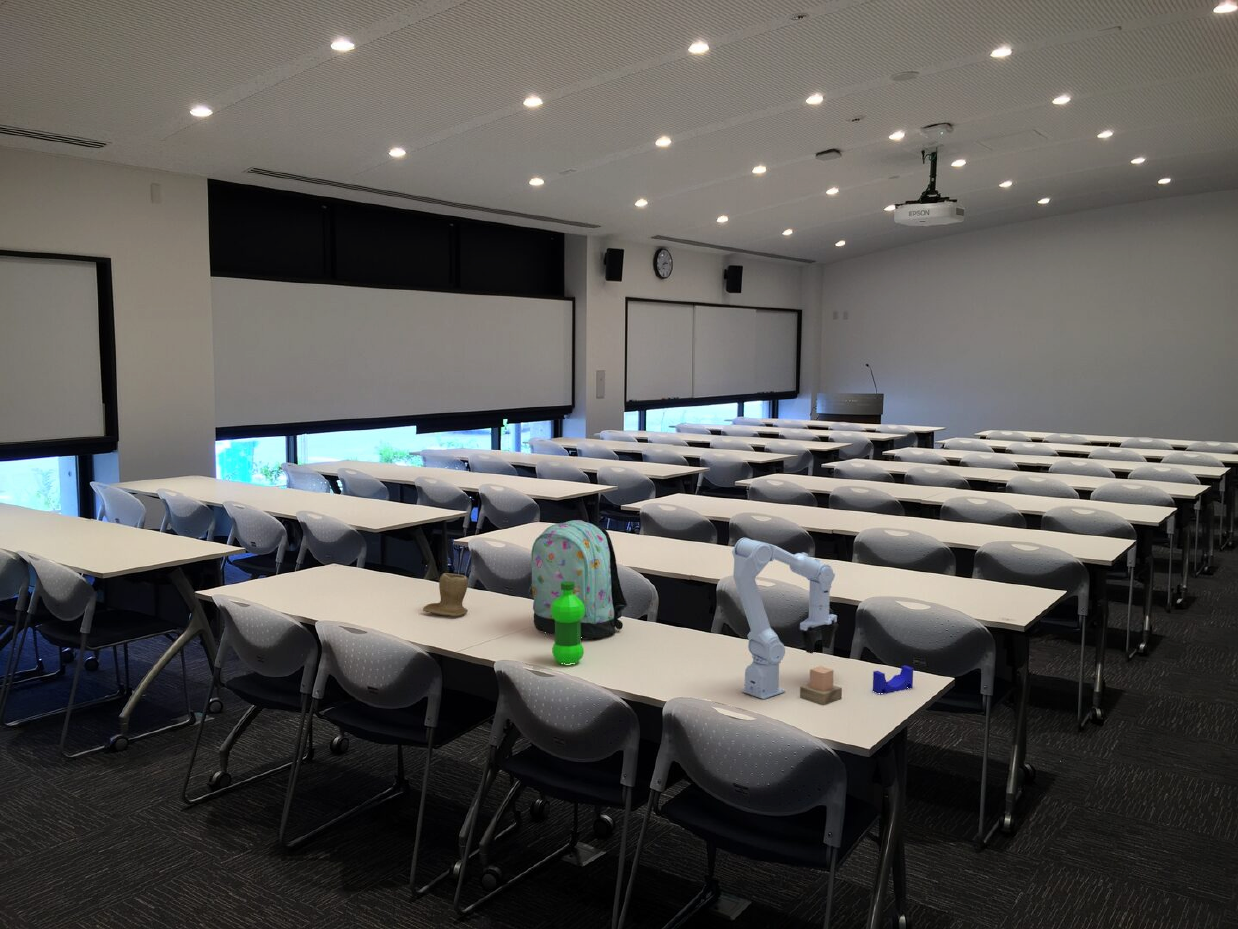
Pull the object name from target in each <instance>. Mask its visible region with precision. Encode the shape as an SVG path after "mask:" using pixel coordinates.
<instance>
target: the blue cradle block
mask: <svg viewBox="0 0 1238 929" xmlns="http://www.w3.org/2000/svg"><path fill="white" fill-rule="evenodd" d="M907 687H908V688H909V689H908V688H907ZM913 687H914V667H910V666H909V665H902V666H901V669H900V673H899V674H895V675H893V677H892V678H891V679H889V680H887V679H886V673H884V672H882V671H879V670H874V671H872V692H873V691H874V692H873V693H875V692H876V693H875V694H877V693H880V694H881V693H886V694H890V693H895V692H894V691H896V692H901V691H906V690H910V688H911V689H913ZM905 689H906V690H905ZM900 690H901V691H900ZM881 695H882V694H881Z"/></svg>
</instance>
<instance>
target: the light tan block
mask: <svg viewBox="0 0 1238 929" xmlns="http://www.w3.org/2000/svg"><path fill="white" fill-rule="evenodd" d="M809 683H810V687H811V688H814V689H817V690H820V691H825V690H828V689H831V688H833V685H834V669H831V668H827V667H824V666H821V665H819V666H816V667H813V668H810V669H809Z"/></svg>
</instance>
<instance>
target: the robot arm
mask: <svg viewBox="0 0 1238 929" xmlns="http://www.w3.org/2000/svg"><path fill="white" fill-rule="evenodd" d="M731 553H732V556H733V559H734V560H733V574H732V575H733V579H734V583H735V586H736V589H737V592H738V595H739V598H740V601H741V604H742V607H743V610H744V613H745V616H746V619H747V622H748V626H749V628H750V629H749V630H750V631H749V633H748V634H747V635H746V637H747V639H748V644H747V645H748V646H747V647H748V648H747V649H748V651H749V653H750V654H751V659H752V662H751V663H750V664H749V665H747V666H746V668H745V670H744V689H742V693H745V694H748V695H751V696H753V697H756V698H759V699H762V700H765V699H768V698H772V697H773V696H774V697H775V696H777V695H780V694H783V693H785V692H786V690H785V689H783V688H780V687H779V684H780V664H781V661H782V660H783V659H784V657H785V655H786V648H785V645H784V643H783V642H782V641H781V640H780V638H779V636H778V634H777V633H776V632H775V630H774V629H772V628H771V624H770V621H769V618H768V615H767V612H766V609H765V606H764V602H763V600H762V596H761V594H760V593H761V592H760V591H759V587H758V585H757V584H758V583H757V581H756V577H758V576H759V575H760V573H761V572H762V571H763V570H764V568H766V566H767V565H768V564H769V563H770V562H774V560H775V561H777V562H780V563H783V564H785V565H787V566H788V565H789V569H790V570H791V572H792V573H795V574H796V575H799V576H801V577H804V578H805V579H806V580H808V581H809V592H808V593H809V595H808V598H809V599H808V618H806V619H805V620H804V621H801V622H800V623H799V627H798V632H799V633H800V636H801V638H802V640H803V644H804V648H805V653H808V654H814V652H815V643H816V640H817V639H816V638H817V635H818V633H819V631H818V630H814V629H813V628H816V627H819V628H820V633H821V645H822V648H824V649H825V648H826V649H830V647H831V645H832V641H833V637H834V635H835V633H836V631H837V630H838V629H839V624H838V623H837V620H838V619H837V618H838V616H837V615H836V614H832V613H831V614H830V597H831V592H830V590H831V588H832V583H833V581H834V579H835V576H836V573H834V570H833V568H832V566H831V565H829V564H826V563H822V562H821V560H820V559H818V558H812V557H811V556H809V554H808V553H807V552H797V553H795V554H793V553H790V552H789V551H787V550H785V549H783V548H781V547H779V546H777V545H776V544H775V545H774V544H772V543H768V542H763V541H759V540H754V539H750V538H748V537H742V538H740V539H739V540H737V541H736V543H735V545H734V547H733V549H732V551H731Z"/></svg>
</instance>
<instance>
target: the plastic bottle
mask: <svg viewBox="0 0 1238 929" xmlns="http://www.w3.org/2000/svg"><path fill="white" fill-rule="evenodd" d="M574 589H575V583H574V582H562V583H561V590H563V594H562V595H561V596H559V597H558V598H557V599H556V600H555V601H554V602H553V603H552V605H551V614H552V617H553V618H554V620H555V634H554V643H553V645H552V648H551V653H552V655H553V658H554V660H555V661H556V662H558V663H559V664H560V663H563V664H564V663H565V664H570V663H576V664H577V663H578V662H579V661H580V660H581V659H582V658H583V657H584V653H585V650H584V647H583V644H582V642H581V641H582V640H581V639H582V638H581V619H582V618H583V617H584V614H585V607H584V604H583V603H582V601H581V600H580V599H579V598H577V597H576V596H575V595H574V594H573V590H574Z"/></svg>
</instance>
